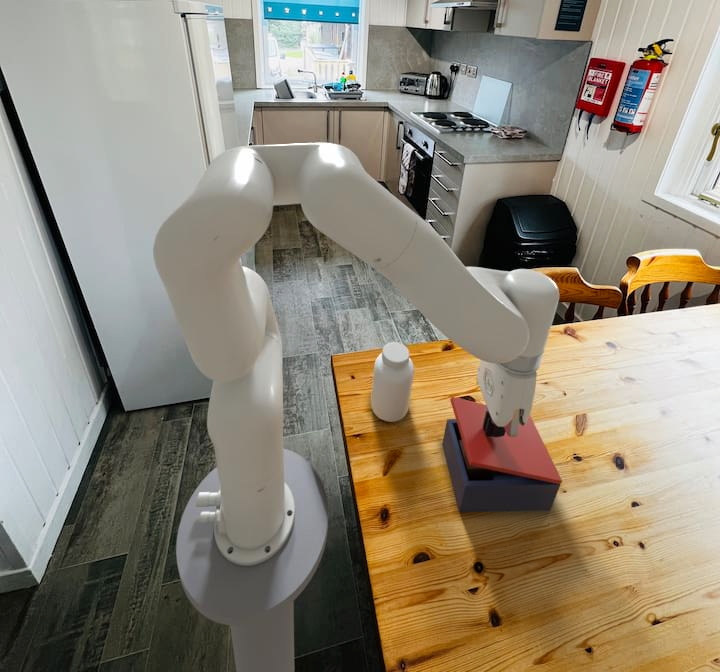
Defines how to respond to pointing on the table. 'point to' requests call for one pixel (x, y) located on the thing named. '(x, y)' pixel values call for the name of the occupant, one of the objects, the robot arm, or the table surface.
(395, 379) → the pill bottle
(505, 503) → the box
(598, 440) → the table surface
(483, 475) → the block
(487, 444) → the lunchbox lid
